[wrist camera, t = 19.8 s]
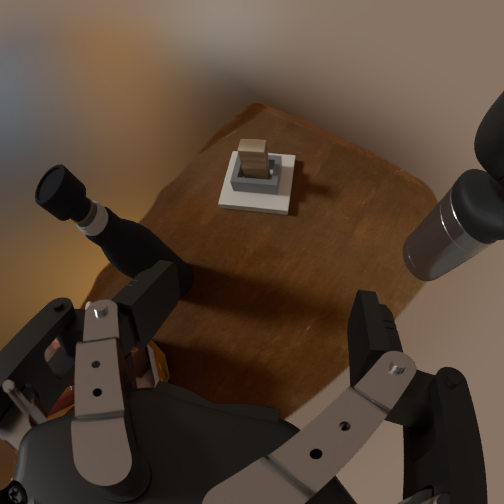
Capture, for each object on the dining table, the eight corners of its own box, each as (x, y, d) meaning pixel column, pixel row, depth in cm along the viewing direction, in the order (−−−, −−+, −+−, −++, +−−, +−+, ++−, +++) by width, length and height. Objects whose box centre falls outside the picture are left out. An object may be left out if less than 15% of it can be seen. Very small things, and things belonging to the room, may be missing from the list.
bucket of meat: (143, 298, 45) (66, 262, 26) (209, 367, 40) (150, 377, 21) (83, 371, 41) (2, 367, 23) (138, 439, 36) (63, 471, 18)
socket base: (287, 215, 47) (287, 201, 43) (220, 208, 49) (214, 195, 45) (295, 160, 51) (295, 145, 46) (234, 156, 53) (230, 141, 48)
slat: (268, 184, 48) (263, 152, 39) (245, 183, 48) (237, 150, 40) (270, 173, 48) (266, 140, 40) (248, 171, 49) (240, 138, 41)
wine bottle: (183, 303, 44) (47, 227, 16) (152, 289, 45) (16, 209, 17) (199, 268, 45) (89, 154, 17) (168, 256, 47) (52, 149, 19)
